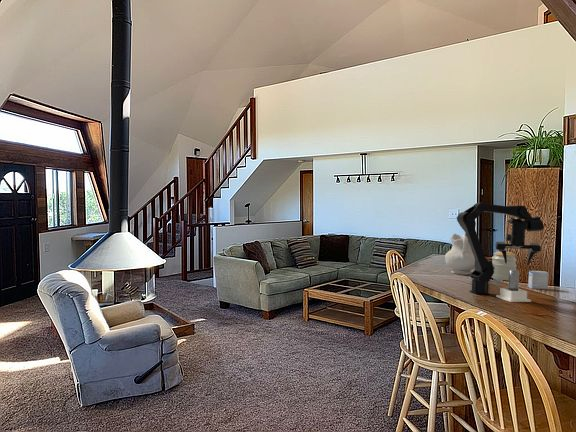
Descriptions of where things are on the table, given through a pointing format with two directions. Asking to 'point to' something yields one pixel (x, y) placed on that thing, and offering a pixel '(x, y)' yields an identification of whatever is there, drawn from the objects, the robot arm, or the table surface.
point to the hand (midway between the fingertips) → (516, 264)
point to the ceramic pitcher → (460, 255)
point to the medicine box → (538, 280)
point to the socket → (513, 295)
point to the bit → (513, 280)
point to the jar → (503, 265)
